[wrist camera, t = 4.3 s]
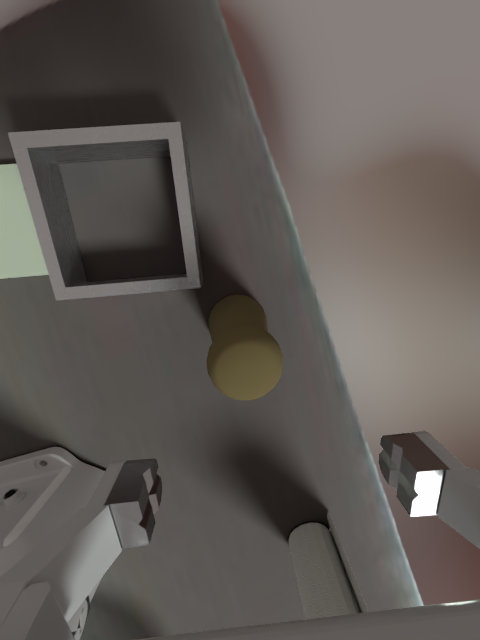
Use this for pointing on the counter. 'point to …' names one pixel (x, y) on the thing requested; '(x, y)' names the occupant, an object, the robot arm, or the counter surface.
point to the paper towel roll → (324, 572)
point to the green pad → (17, 229)
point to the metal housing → (53, 211)
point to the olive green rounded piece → (242, 349)
